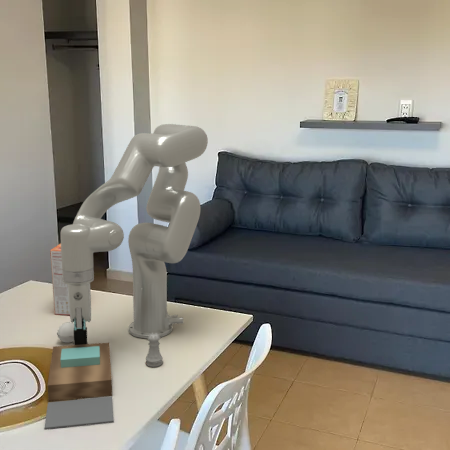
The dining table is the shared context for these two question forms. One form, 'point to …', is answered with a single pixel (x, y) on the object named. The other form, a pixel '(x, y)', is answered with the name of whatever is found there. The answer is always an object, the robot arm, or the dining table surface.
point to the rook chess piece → (154, 351)
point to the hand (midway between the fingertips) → (80, 343)
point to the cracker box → (59, 283)
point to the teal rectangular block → (80, 356)
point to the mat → (79, 412)
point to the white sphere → (66, 332)
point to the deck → (79, 376)
